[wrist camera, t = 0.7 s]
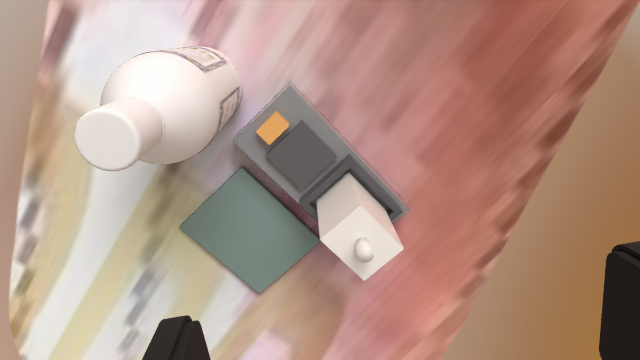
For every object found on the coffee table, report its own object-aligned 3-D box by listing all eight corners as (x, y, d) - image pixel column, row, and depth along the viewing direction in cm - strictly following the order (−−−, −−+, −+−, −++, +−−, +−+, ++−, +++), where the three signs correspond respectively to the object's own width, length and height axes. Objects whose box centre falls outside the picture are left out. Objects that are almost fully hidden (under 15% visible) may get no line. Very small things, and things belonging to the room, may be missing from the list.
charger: (348, 170, 37) (363, 214, 28) (383, 206, 39) (409, 259, 30) (316, 199, 38) (320, 250, 29) (352, 233, 39) (367, 293, 30)
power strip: (290, 81, 37) (289, 86, 33) (402, 198, 42) (412, 215, 38) (237, 133, 39) (230, 145, 35) (350, 241, 43) (355, 262, 39)
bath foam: (150, 63, 36) (-11, 97, 17) (222, 33, 36) (135, 34, 17) (187, 135, 39) (80, 232, 20) (255, 107, 38) (211, 181, 19)
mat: (242, 166, 40) (241, 168, 39) (320, 238, 43) (320, 241, 42) (180, 225, 42) (179, 227, 41) (259, 290, 45) (259, 294, 44)
